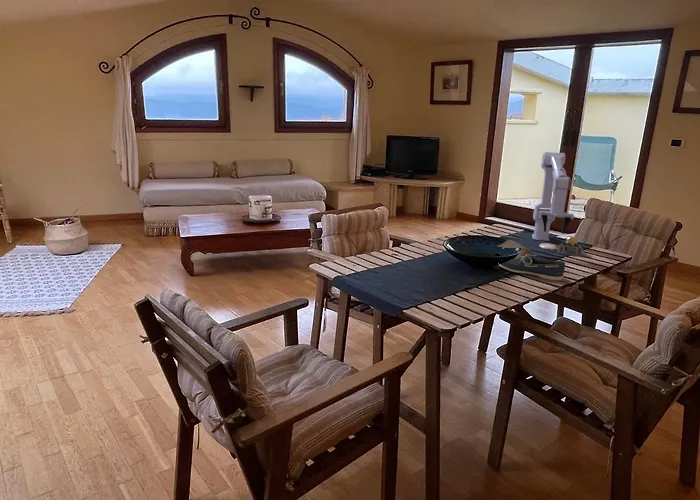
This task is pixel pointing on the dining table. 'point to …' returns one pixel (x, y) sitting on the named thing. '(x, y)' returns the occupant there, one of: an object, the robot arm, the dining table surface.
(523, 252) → the artifact
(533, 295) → the dining table surface
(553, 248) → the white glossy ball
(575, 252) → the post base
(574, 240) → the cap
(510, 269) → the boat shoe
